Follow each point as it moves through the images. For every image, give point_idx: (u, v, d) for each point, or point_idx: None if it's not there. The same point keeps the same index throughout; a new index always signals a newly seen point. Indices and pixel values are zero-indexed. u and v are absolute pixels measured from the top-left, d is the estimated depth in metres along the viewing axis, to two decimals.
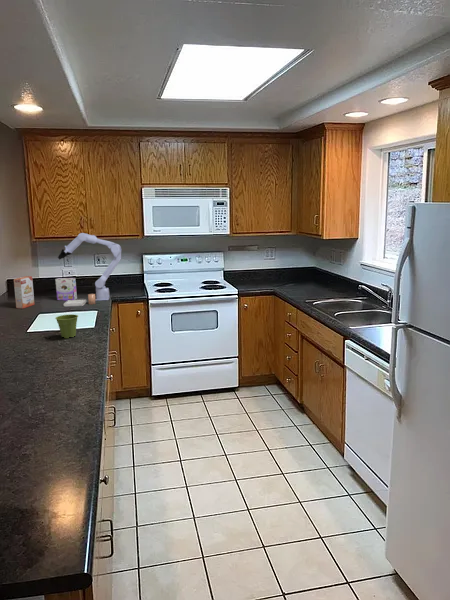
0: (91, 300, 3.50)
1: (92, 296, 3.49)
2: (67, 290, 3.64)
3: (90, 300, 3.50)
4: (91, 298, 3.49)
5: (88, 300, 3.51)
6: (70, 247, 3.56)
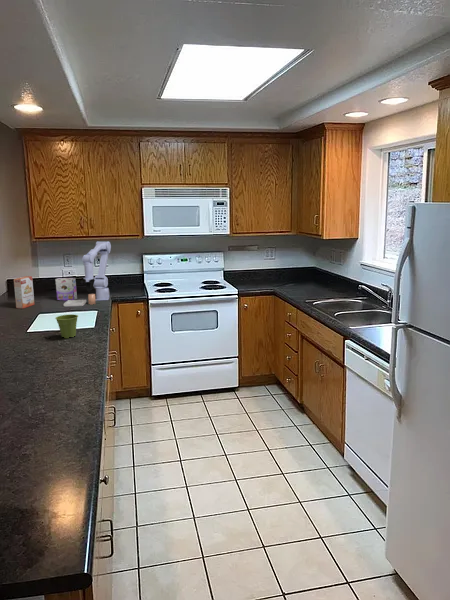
0: (91, 300, 3.50)
1: (92, 296, 3.49)
2: (67, 290, 3.64)
3: (90, 300, 3.50)
4: (91, 298, 3.49)
5: (88, 300, 3.51)
6: (88, 274, 3.46)
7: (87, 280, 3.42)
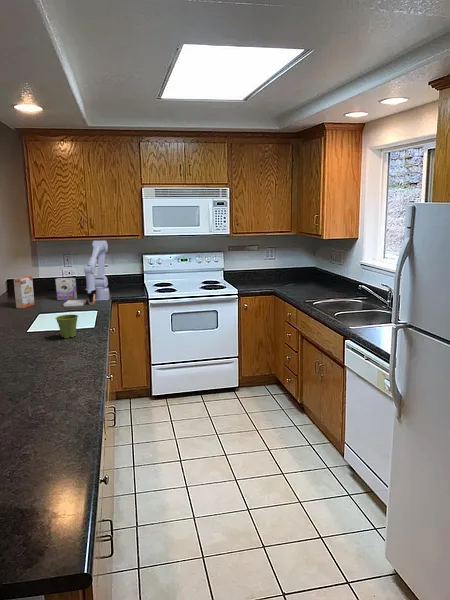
0: None
1: None
2: (67, 290, 3.64)
3: None
4: None
5: (88, 300, 3.51)
6: (89, 286, 3.47)
7: (89, 291, 3.44)
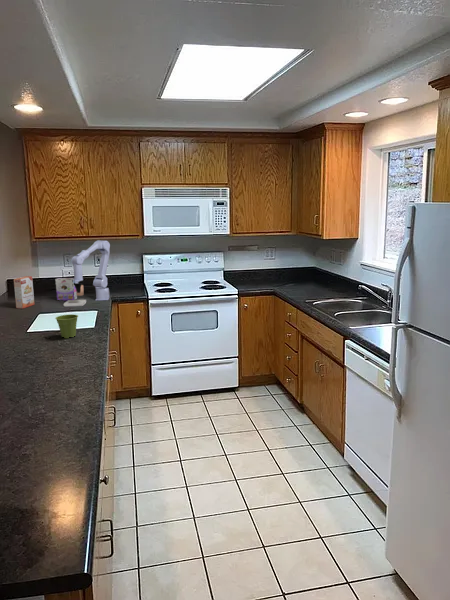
0: None
1: None
2: (67, 290, 3.64)
3: None
4: None
5: (76, 291, 3.49)
6: (77, 276, 3.45)
7: (76, 282, 3.42)
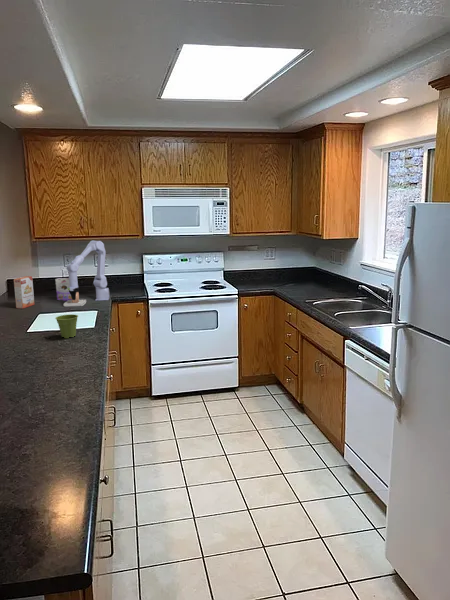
0: None
1: None
2: (67, 290, 3.64)
3: None
4: None
5: None
6: (72, 283, 3.46)
7: (71, 289, 3.42)
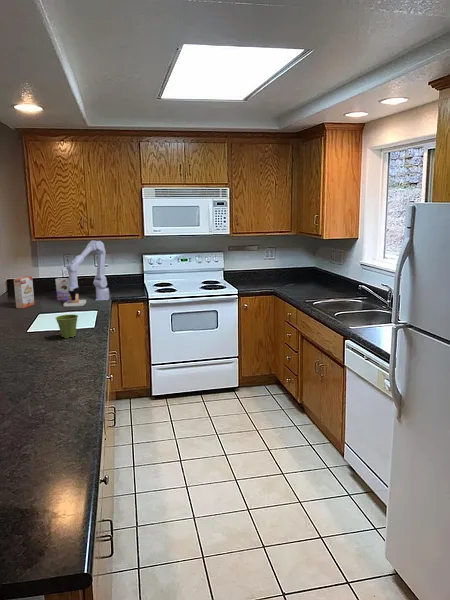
0: (74, 300, 3.49)
1: None
2: (67, 290, 3.64)
3: (73, 300, 3.49)
4: None
5: None
6: (72, 283, 3.46)
7: (71, 289, 3.42)
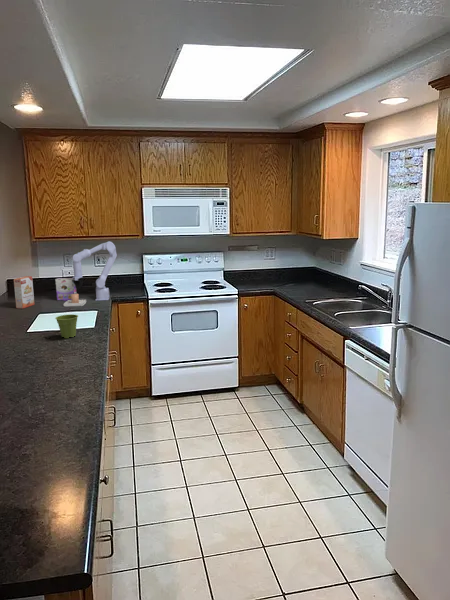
0: (74, 300, 3.49)
1: (75, 296, 3.49)
2: (67, 290, 3.64)
3: (73, 300, 3.49)
4: (74, 298, 3.49)
5: None
6: (77, 273, 3.56)
7: (76, 279, 3.53)
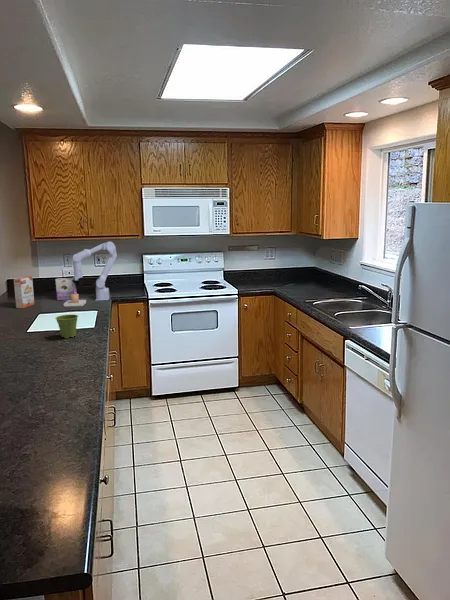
0: (74, 300, 3.49)
1: (75, 296, 3.49)
2: (67, 290, 3.64)
3: (73, 300, 3.49)
4: (74, 298, 3.49)
5: None
6: (77, 273, 3.57)
7: (76, 279, 3.53)
